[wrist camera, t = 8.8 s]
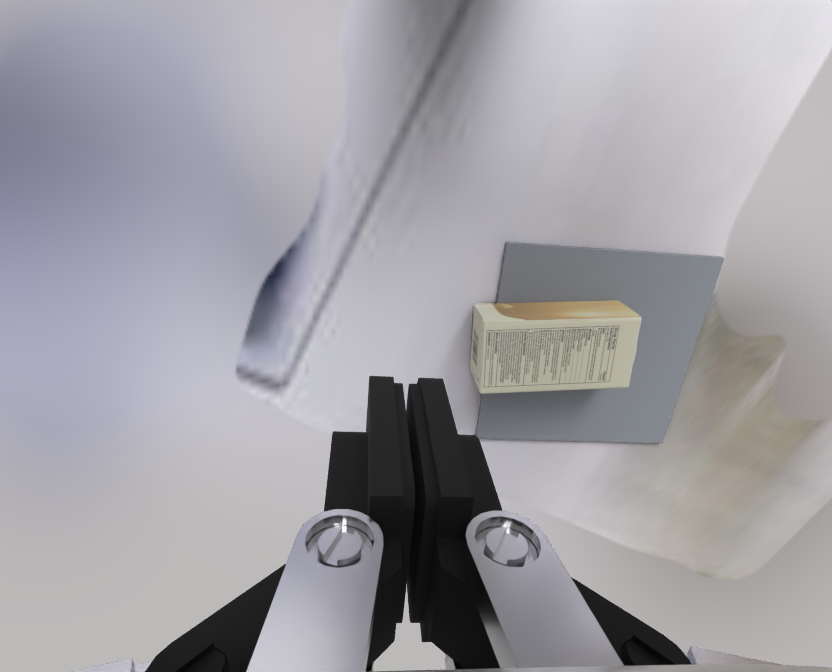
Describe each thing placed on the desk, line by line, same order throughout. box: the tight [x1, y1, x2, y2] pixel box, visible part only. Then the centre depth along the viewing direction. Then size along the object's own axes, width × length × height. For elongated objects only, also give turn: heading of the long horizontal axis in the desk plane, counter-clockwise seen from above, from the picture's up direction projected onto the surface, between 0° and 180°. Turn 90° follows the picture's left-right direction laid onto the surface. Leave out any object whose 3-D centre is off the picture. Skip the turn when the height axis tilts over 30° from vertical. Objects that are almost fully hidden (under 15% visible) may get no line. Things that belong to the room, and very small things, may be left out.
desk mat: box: [475, 242, 724, 443], centre depth 45 cm, size 18×18×1 cm
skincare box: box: [470, 300, 641, 394], centre depth 41 cm, size 6×4×12 cm
